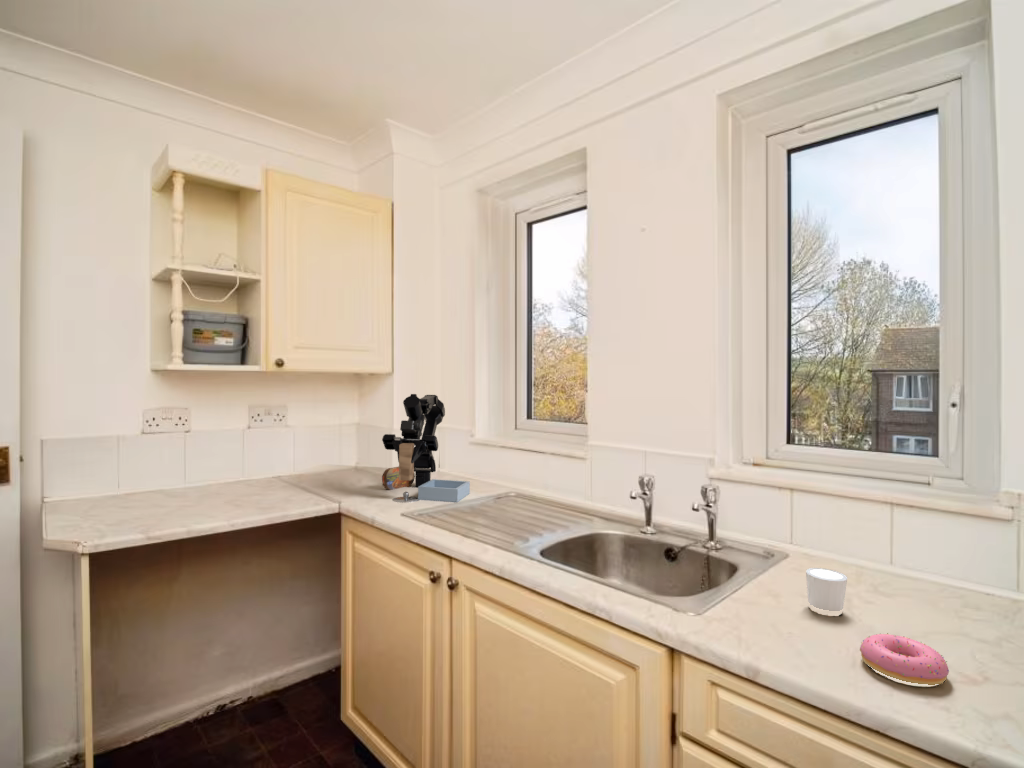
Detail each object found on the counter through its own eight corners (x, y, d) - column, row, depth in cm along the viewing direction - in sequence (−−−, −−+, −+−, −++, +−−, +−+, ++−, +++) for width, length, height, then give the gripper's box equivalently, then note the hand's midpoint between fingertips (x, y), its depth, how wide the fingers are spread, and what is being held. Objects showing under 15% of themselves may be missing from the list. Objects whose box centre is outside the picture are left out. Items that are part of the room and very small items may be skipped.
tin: (386, 492, 199) (386, 469, 199) (380, 491, 201) (380, 468, 201) (415, 485, 212) (415, 463, 212) (409, 485, 213) (409, 463, 214)
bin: (432, 492, 200) (432, 479, 200) (469, 495, 197) (469, 481, 197) (418, 501, 187) (418, 486, 186) (457, 504, 184) (457, 489, 183)
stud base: (399, 497, 192) (399, 488, 192) (423, 499, 190) (423, 490, 190) (387, 503, 183) (387, 493, 183) (413, 505, 181) (413, 495, 181)
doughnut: (846, 666, 84) (846, 639, 84) (877, 647, 90) (878, 622, 90) (931, 702, 75) (932, 672, 75) (960, 678, 81) (960, 650, 81)
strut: (402, 477, 189) (402, 443, 188) (413, 478, 188) (414, 443, 188) (398, 480, 185) (399, 444, 184) (410, 480, 184) (411, 444, 184)
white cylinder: (830, 620, 100) (831, 582, 99) (796, 606, 106) (797, 570, 106) (854, 614, 102) (856, 577, 102) (820, 600, 109) (821, 565, 108)
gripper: (384, 411, 191) (372, 446, 180) (437, 412, 189) (428, 448, 178) (391, 431, 199) (380, 466, 188) (441, 432, 197) (434, 468, 186)
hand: (405, 462), depth 185 cm, fingers closed on strut, 4 cm apart
